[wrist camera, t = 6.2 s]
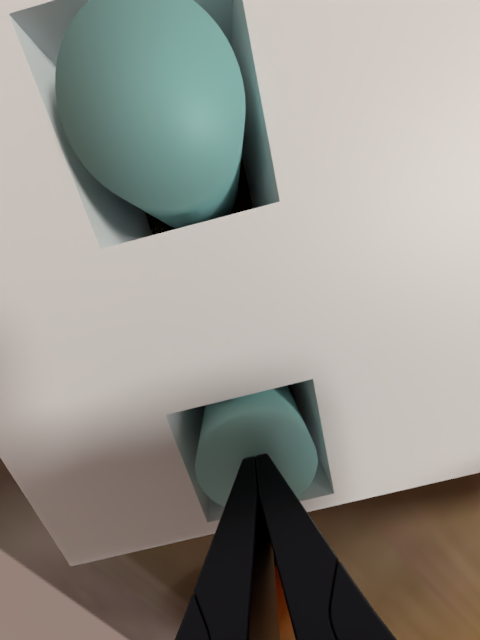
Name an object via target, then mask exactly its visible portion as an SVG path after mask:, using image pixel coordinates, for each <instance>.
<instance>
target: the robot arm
mask: <svg viewBox="0 0 480 640" xmlns="http://www.w3.org/2000/svg"><path fill="white" fill-rule="evenodd" d="M273 553H274V556H273ZM274 557H275V561H276V564H277V568H278V572H279V576H280V580H281V584H282V588H283V592H284V596H285V600H286V604H287V608H288V612H289V616H290V620H291V623H292V627H293V631H294V635H295V639H296V640H397V639H396V638H395V637H394V636H393V634H392V633H391V632H390V630H389V629H388V628H387V626H386V625H385V624H384V623H383V621H382V620H381V619H380V617H379V616H378V615H377V613H376V612H375V611H374V609H373V608H372V607H371V605H370V604H369V602H368V601H367V599H366V598H365V597H364V595H363V594H362V592H361V591H360V590H359V588H358V587H357V585H356V584H355V583H354V581H353V580H352V578H351V577H350V575H349V574H348V572H347V571H346V569H345V568H344V566H343V565H342V563H341V562H339V560H338V558H337V556H336V555H335V553H334V552H333V550H332V549H331V547H330V546H329V544H328V543H327V541H326V540H325V538H324V537H323V535H322V534H321V532H320V531H319V529H318V528H317V526H316V525H315V523H314V522H313V520H312V519H311V517H310V516H309V514H308V513H307V511H306V510H305V508H304V507H303V505H302V504H301V502H300V501H299V499H298V498H297V497H296V495H295V494H294V492H293V491H292V489H291V488H290V486H289V485H288V483H287V482H286V480H285V479H284V477H283V476H282V474H281V473H280V471H279V470H278V468H277V467H276V465H275V464H274V462H273V461H272V459H271V458H270V456H269V455H268V454H267V453H265V454H260V455H257V456H256V458H255V457H254V456H252V457H248V458H244V459H243V460H242V462H241V465H240V467H239V470H238V473H237V475H236V478H235V481H234V483H233V486H232V489H231V491H230V494H229V497H228V500H227V502H226V505H225V508H224V510H223V513H222V516H221V518H220V521H219V524H218V526H217V529H216V532H215V535H214V537H213V540H212V543H211V545H210V548H209V551H208V553H207V556H206V559H205V561H204V564H203V567H202V569H201V572H200V575H199V578H198V580H197V583H196V586H195V588H194V594H195V595H194V594H193V595H192V596H191V599H190V601H189V604H188V607H187V609H186V612H185V615H184V618H183V620H182V623H181V625H180V628H179V630H178V633H177V635H176V638H175V640H280V632H279V619H278V606H277V594H276V581H275V569H274Z"/></svg>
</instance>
